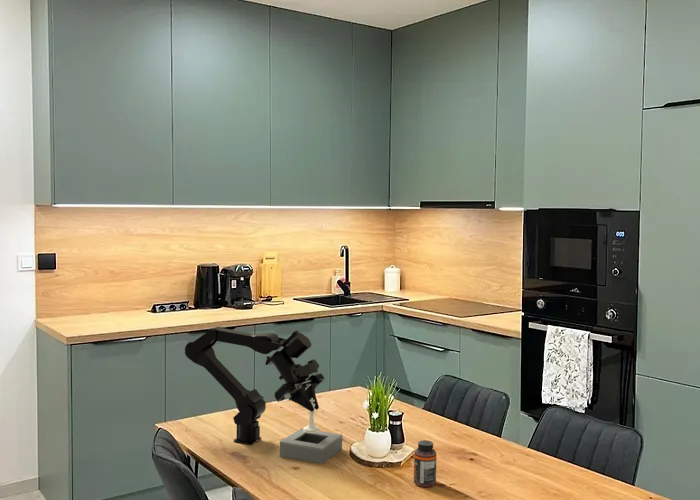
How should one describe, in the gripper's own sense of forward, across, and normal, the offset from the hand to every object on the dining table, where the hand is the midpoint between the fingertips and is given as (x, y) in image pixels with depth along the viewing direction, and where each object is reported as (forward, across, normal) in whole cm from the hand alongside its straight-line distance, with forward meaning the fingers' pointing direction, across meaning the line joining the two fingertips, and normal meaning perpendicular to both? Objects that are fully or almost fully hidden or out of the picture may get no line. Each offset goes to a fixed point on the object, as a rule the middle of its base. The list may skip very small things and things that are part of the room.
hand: (315, 409), depth 208 cm
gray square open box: (+9, 0, +10) cm, 13 cm away
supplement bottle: (+36, -1, -17) cm, 40 cm away
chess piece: (+4, 0, +6) cm, 7 cm away
